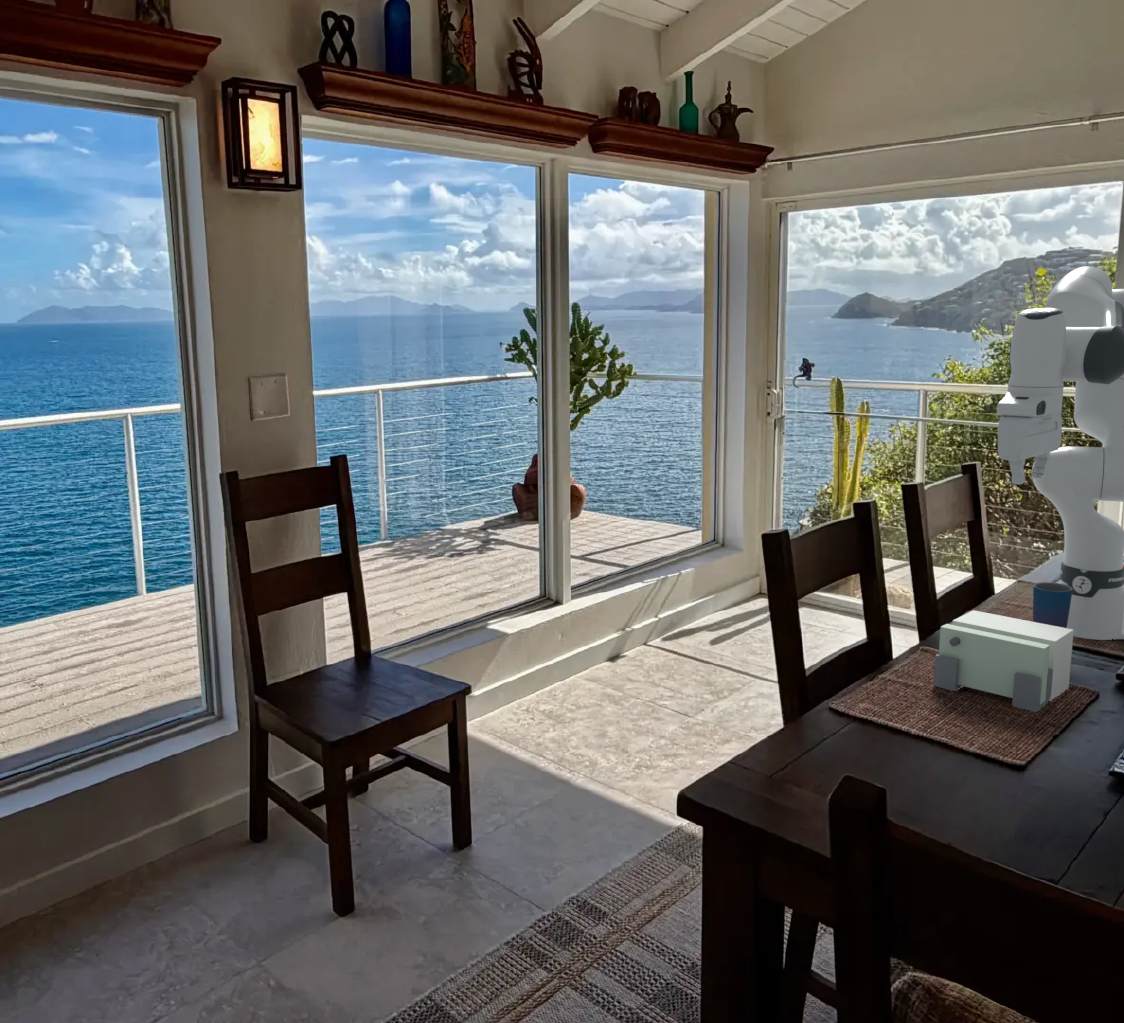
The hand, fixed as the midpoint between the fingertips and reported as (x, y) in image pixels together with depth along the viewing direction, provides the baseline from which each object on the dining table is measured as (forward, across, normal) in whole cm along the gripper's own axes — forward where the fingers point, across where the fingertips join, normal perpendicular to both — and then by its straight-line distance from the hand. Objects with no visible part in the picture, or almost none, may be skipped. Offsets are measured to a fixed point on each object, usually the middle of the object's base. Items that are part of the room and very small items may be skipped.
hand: (1028, 480), depth 180 cm
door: (+36, +11, 0) cm, 38 cm away
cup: (+37, -14, +1) cm, 40 cm away
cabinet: (+37, +6, 0) cm, 38 cm away
